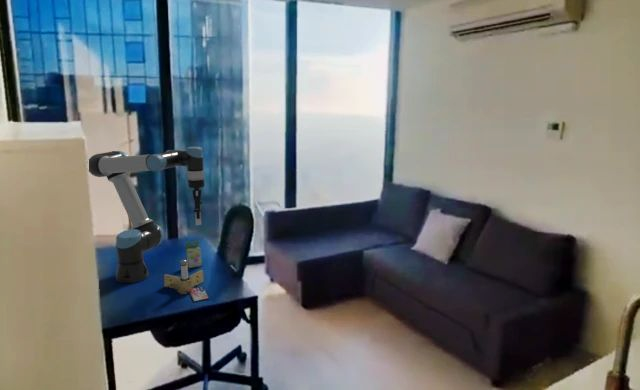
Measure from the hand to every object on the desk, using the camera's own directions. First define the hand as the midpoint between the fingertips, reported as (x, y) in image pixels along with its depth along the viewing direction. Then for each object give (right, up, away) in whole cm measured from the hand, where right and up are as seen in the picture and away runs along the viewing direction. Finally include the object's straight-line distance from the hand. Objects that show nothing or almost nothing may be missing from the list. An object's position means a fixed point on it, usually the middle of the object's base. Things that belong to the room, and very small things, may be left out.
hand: (198, 221), depth 223 cm
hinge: (-3, -31, -6) cm, 32 cm away
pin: (-3, -32, -11) cm, 34 cm away
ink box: (-7, -25, +18) cm, 32 cm away
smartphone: (+4, -33, -15) cm, 37 cm away
